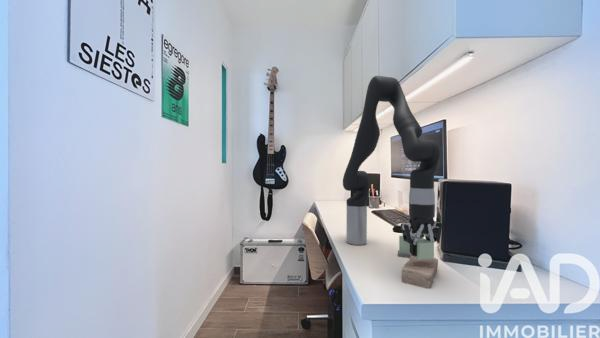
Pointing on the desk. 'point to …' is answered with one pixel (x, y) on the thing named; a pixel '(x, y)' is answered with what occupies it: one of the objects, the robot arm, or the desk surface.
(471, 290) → the desk surface
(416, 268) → the brick
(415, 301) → the desk surface
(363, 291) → the desk surface
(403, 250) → the green and grey bar
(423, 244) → the green block
